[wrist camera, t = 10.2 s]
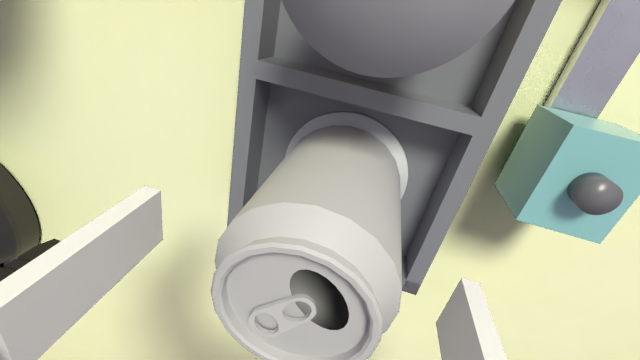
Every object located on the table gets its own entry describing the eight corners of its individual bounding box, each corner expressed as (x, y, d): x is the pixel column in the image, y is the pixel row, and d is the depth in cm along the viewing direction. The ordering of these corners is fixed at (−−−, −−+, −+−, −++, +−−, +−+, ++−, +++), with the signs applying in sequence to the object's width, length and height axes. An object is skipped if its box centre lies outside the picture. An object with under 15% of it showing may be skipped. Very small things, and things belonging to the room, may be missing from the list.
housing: (244, 212, 26) (226, 234, 23) (290, -212, 15) (265, -266, 12) (413, 264, 24) (415, 294, 22) (610, -161, 13) (665, -209, 10)
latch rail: (496, 178, 20) (519, 214, 16) (681, -168, 13) (805, -252, 9) (547, 192, 20) (583, 232, 16) (769, -154, 12) (938, -235, 8)
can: (417, 202, 21) (437, 381, 11) (320, 233, 24) (260, 398, 13) (371, 100, 19) (338, 198, 8) (270, 148, 22) (150, 264, 11)
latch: (494, 184, 19) (522, 231, 15) (537, 104, 17) (586, 132, 12) (562, 203, 19) (612, 257, 14) (616, 123, 16) (695, 159, 12)
